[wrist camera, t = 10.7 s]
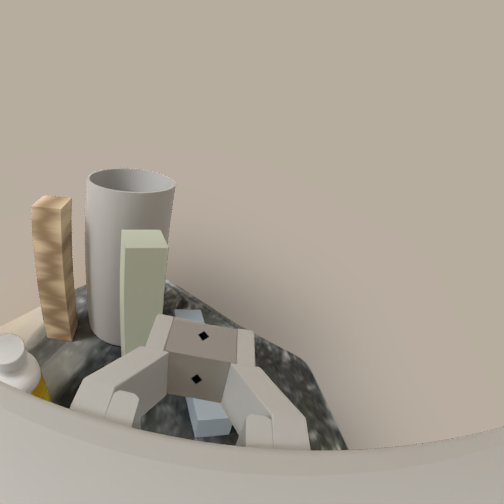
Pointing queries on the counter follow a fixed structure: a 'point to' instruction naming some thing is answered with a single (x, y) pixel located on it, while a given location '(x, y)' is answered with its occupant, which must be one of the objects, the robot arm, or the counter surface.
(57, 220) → the post oak
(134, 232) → the post sage
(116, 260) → the cylinder vase
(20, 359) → the supplement bottle
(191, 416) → the post slate
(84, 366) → the counter surface
